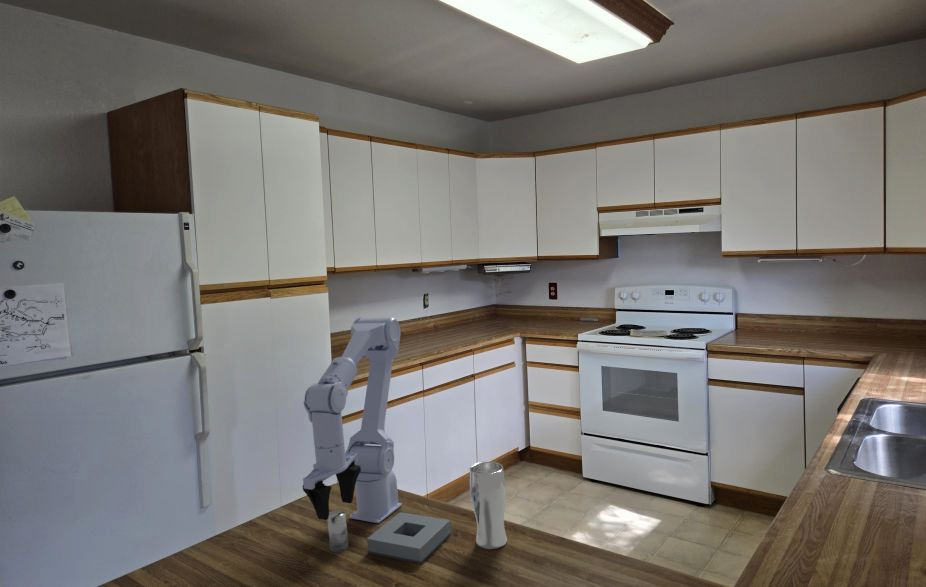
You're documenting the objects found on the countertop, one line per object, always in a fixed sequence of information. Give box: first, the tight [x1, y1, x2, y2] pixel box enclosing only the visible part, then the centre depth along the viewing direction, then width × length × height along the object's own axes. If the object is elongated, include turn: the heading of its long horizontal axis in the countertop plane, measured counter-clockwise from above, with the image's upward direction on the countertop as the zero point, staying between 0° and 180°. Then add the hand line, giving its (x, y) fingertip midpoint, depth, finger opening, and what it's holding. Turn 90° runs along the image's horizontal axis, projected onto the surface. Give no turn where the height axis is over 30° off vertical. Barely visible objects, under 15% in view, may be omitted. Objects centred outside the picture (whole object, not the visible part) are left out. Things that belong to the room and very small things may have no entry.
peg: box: [326, 509, 349, 553], centre depth 124 cm, size 4×4×7 cm
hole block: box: [366, 511, 452, 565], centre depth 124 cm, size 12×12×3 cm
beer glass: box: [469, 461, 508, 550], centre depth 122 cm, size 7×7×15 cm
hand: (335, 510), depth 124 cm, fingers open, 7 cm apart
